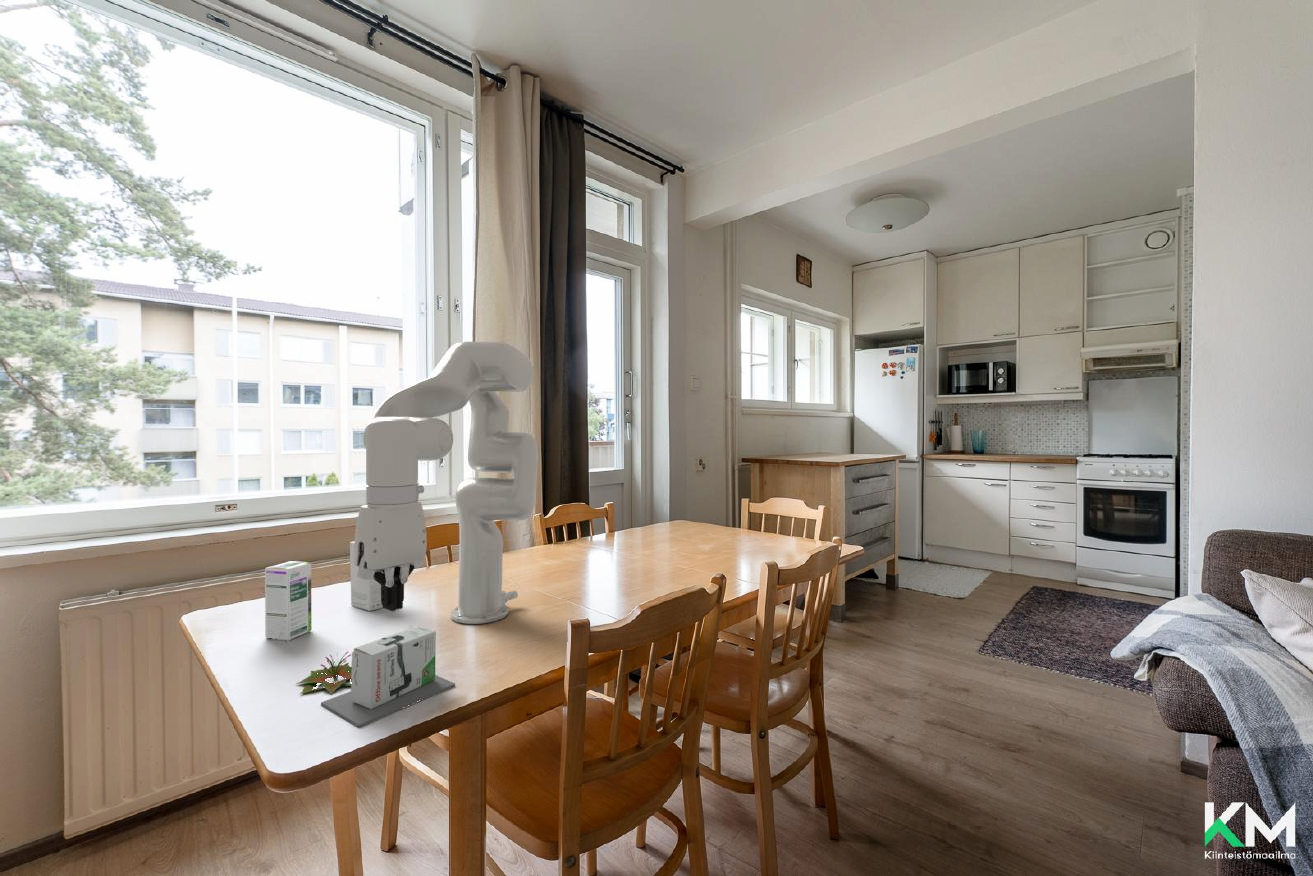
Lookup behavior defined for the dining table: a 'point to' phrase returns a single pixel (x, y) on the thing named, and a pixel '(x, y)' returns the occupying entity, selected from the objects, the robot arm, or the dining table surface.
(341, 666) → the lily flower
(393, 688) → the ink box
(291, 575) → the syrup box
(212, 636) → the dining table surface
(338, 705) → the mat
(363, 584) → the skincare box
